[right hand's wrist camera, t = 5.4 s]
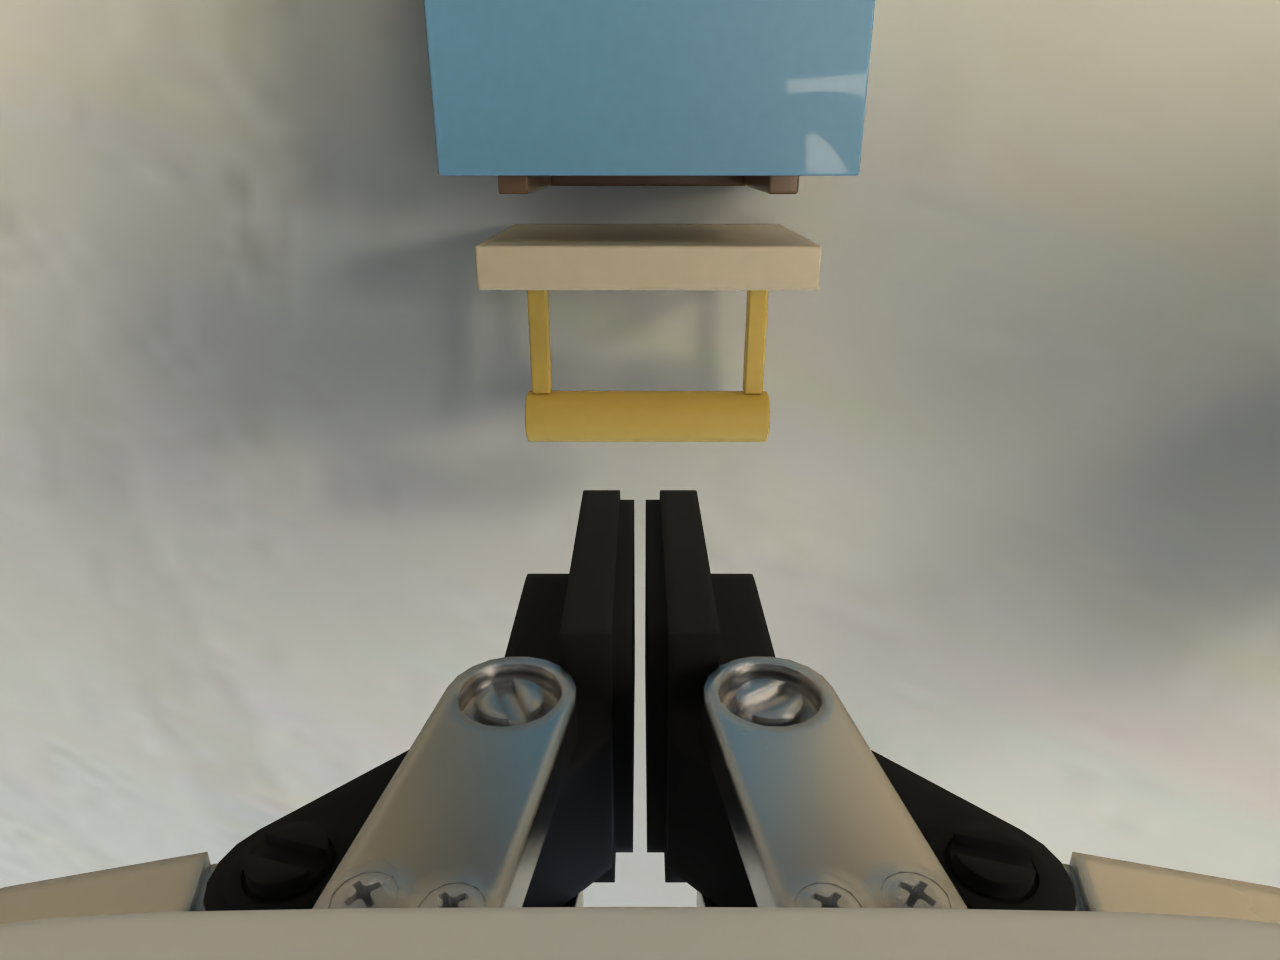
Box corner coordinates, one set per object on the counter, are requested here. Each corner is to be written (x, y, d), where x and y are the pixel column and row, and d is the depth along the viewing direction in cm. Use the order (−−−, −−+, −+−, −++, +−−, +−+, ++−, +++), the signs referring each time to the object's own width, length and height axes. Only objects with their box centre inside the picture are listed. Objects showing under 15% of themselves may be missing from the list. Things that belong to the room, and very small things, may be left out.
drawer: (770, 406, 31) (804, 474, 25) (523, 405, 31) (490, 474, 25) (818, -379, 23) (888, -596, 16) (481, -377, 23) (413, -594, 16)
